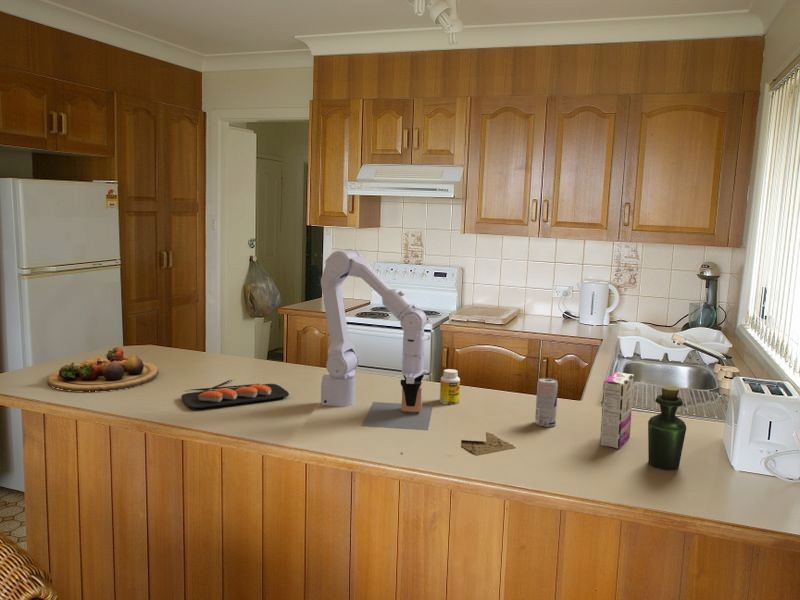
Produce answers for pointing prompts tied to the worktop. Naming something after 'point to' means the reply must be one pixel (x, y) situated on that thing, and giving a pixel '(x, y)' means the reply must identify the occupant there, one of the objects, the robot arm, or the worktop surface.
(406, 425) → the mat
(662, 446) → the potion bottle
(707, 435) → the worktop surface
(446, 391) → the supplement bottle
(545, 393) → the energy drink
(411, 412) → the post
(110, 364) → the wooden plate with food
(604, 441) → the candy bar box
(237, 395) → the sushi plate
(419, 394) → the salmon pink block
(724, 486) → the worktop surface
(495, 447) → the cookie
